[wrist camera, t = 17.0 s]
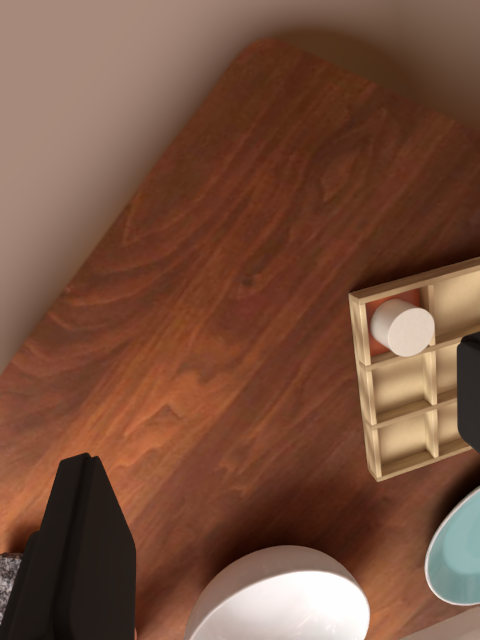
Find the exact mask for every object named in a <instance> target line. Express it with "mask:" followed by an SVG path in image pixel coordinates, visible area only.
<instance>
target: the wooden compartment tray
mask: <svg viewBox="0 0 480 640" xmlns="http://www.w3.org/2000/svg"><path fill="white" fill-rule="evenodd" d="M348 294H349V303H350V312H351V321H352V330H353V339H354V348H355V357H356V366H357V375H358V384H359V393H360V402H361V411H362V420H363V429H364V438H365V447H366V456H367V465H368V471H369V472H370V473H371V474H372V476H373V477H374V478H375V479H376V481H377V482H380V481H382V480H385V479H388V478H391V477H394V476H397V475H399V474H402V473H405V472H408V471H411V470H414V469H416V468H419V467H422V466H425V465H428V464H431V463H433V462H436V461H439V460H442V459H445V458H448V457H450V456H453V455H456V454H459V453H462V452H465V451H467V450H470V449H473V448H472V447H471V446H470V445H469V444H467V443H466V442H465V441H464V440H463V439H462V438H461V436H460V434H459V432H458V428H457V346H458V344H460V341H461V339H462V338H463V337H464V336H466V335H469V334H473V333H476V332H479V331H480V257H477V258H473V259H470V260H466V261H462V262H459V263H455V264H452V265H448V266H444V267H441V268H437V269H434V270H430V271H426V272H423V273H419V274H416V275H412V276H408V277H405V278H401V279H398V280H394V281H391V282H387V283H383V284H380V285H376V286H373V287H369V288H365V289H362V290H358V291H355V292H351V293H348ZM391 299H402V300H405V301H407V302H409V303H411V304H414V305H416V306H418V307H420V308H423V309H425V310H426V311H428V312H429V313H430V314H431V316H432V317H433V320H434V324H435V329H434V334H433V337H432V339H431V341H430V343H429V344H428V345H427V347H426V348H425V349H424V350H422V351H421V352H420V353H418V354H416V355H413V356H409V357H403V356H399V355H397V354H395V353H394V352H392V351H391V350H389V349H388V348H386V347H385V346H383V345H382V344H380V343H379V342H377V341H376V340H375V339H374V337H373V336H372V334H371V330H370V322H371V318H372V316H373V314H374V312H375V310H376V309H377V308H378V307H379V306H380V305H381V304H382V303H384V302H386V301H388V300H391Z"/></svg>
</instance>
